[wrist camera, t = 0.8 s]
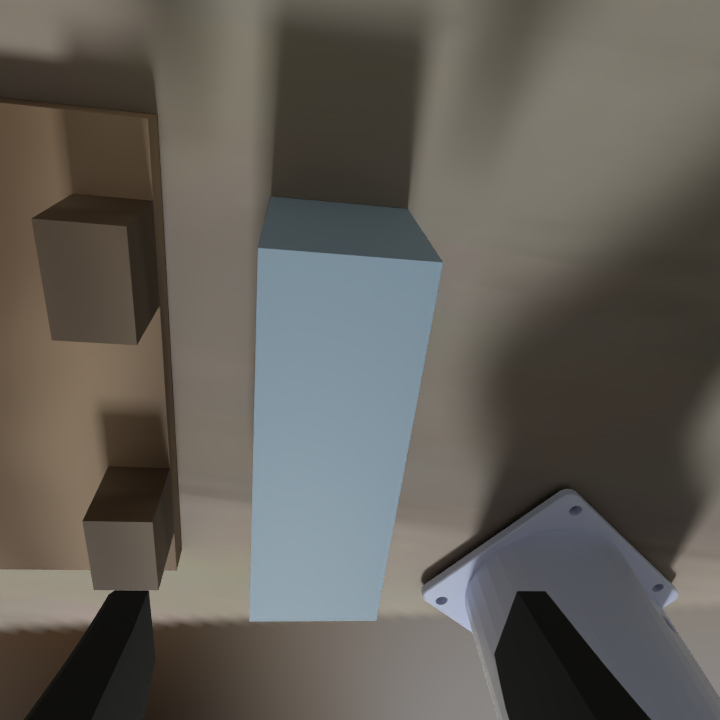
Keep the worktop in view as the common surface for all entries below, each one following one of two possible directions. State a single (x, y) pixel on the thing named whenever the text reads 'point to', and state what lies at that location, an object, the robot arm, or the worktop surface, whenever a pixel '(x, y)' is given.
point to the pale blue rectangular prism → (333, 401)
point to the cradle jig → (85, 347)
